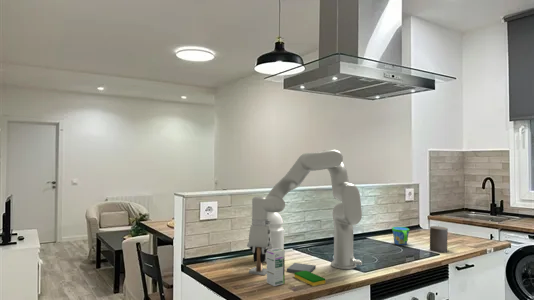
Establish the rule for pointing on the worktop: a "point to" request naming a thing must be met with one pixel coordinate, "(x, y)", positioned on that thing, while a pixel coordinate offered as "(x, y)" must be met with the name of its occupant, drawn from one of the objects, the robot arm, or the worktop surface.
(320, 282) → the dish sponge
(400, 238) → the snack cup
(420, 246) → the worktop surface
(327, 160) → the robot arm
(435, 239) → the pillar candle
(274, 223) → the bottle
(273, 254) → the syrup box
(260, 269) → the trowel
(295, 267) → the rubber mat
